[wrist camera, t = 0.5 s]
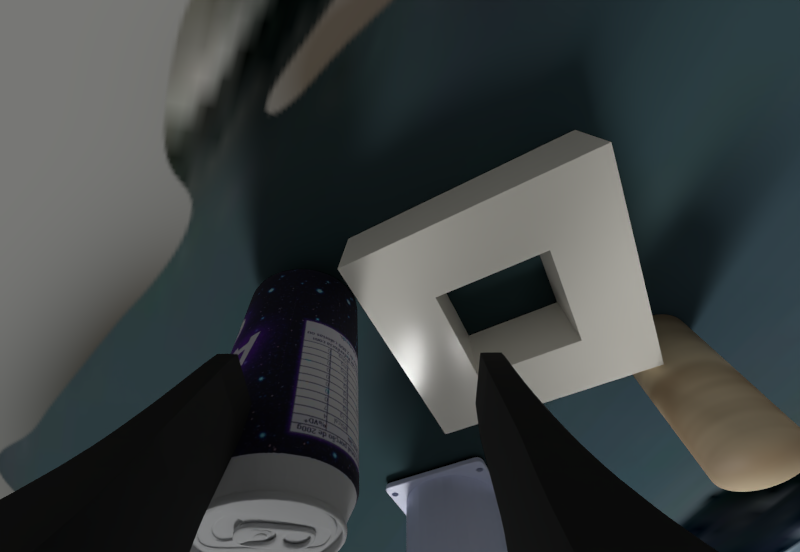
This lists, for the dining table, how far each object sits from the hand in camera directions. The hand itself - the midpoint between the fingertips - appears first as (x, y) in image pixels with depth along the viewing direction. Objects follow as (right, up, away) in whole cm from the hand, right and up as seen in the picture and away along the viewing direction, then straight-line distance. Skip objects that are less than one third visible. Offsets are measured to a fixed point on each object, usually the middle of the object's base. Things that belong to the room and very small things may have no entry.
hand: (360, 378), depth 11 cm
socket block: (+7, +3, +10) cm, 12 cm away
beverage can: (-4, +2, +10) cm, 11 cm away
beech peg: (+16, -1, +11) cm, 20 cm away
